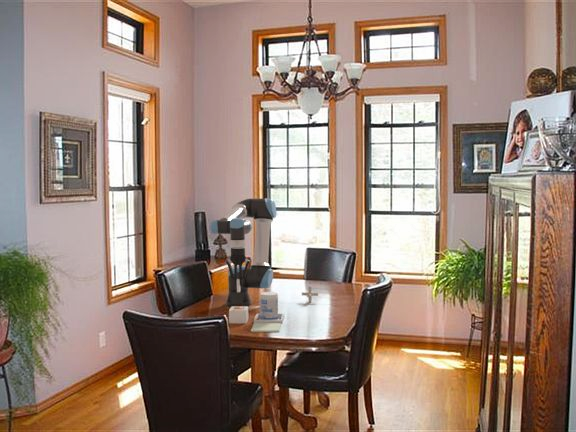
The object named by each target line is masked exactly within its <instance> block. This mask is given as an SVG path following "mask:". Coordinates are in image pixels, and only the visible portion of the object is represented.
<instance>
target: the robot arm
mask: <svg viewBox="0 0 576 432" xmlns="http://www.w3.org/2000/svg"><path fill="white" fill-rule="evenodd" d="M276 217H277V207H276V203H275V201H274V199H272V198H266V197H265V198H246V199H243V200H240V201H238V202H236V204H234V205H233V206H232V207H231V210H229V211H228V212H227V213H225V214H224V215H223V216H222V217H221V218H220V219H215V220H211V222H210V224H209V229H210V232H211V234H215V235H216V234H217V235H230V257H229V259H227V260H226V261H225V264H227V267H228V272H227V277H228V278H227V280H228V281H227V282H228V294H227V297H226V300H225V306H227V307H230V308H231V307H232V306H248V307H249V306H251V304H252V299H251V296H250V293H249V289H269V288H270V287H271V285H272V284H273V279H274V269H272V268H271V265H270V264H269V254H270V253H269V249H270V236H271V235H270V234H271V233H270V232H271V224H272V222H273V221H274V219H275V218H276ZM245 218H253V221H254V222H255V234H254V235H255V236H254V251H253V252H254V254H253V262H252V264H250V263H251V260H249V259H248V258H247V257H246V248H245V247H246V237H245V235H247V234H249V233H250V232H251V231H252V229H253V225H252V222H251V221H250V220H248V219H245ZM231 263H232V264H233V266H232V264H231ZM244 263H245V265H243V264H244ZM249 264H250V267H249Z"/></svg>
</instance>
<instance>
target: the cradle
mask: <svg viewBox="0 0 576 432" xmlns="http://www.w3.org/2000/svg"><path fill="white" fill-rule="evenodd" d="M259 318H260V312H259V313H256V314H255V316H254V318H253V324H254V323H281V325H283V322H284V319H285V313H278V320H260V319H259ZM257 319H258V320H257Z"/></svg>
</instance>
